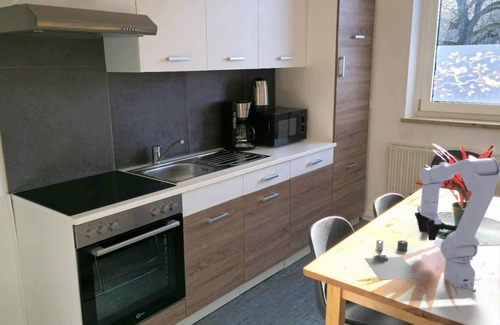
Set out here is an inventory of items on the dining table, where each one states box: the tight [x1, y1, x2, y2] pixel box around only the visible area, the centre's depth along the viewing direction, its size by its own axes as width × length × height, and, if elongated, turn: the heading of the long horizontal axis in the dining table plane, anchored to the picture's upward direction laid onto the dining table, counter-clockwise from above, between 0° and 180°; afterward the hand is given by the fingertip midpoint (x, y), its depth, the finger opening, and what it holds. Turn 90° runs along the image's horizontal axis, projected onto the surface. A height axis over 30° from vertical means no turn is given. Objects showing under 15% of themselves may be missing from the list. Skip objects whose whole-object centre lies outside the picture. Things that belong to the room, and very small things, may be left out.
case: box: [364, 254, 422, 281], centre depth 154 cm, size 16×14×2 cm
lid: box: [396, 240, 409, 252], centre depth 168 cm, size 9×9×5 cm
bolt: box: [374, 239, 387, 258], centre depth 161 cm, size 6×2×4 cm, turn 4°
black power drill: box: [426, 218, 458, 232], centre depth 189 cm, size 5×20×15 cm
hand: (427, 235), depth 161 cm, fingers open, 7 cm apart
